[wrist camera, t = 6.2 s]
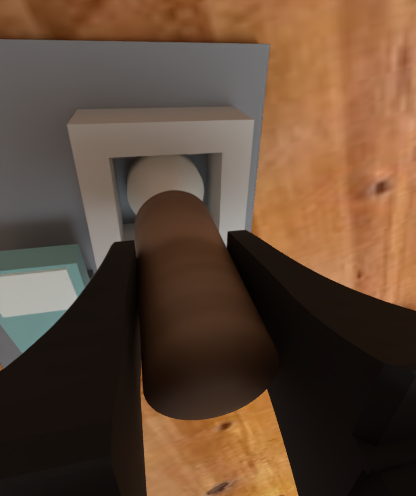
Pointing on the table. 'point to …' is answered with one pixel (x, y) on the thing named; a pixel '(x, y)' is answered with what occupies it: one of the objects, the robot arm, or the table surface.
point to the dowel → (195, 315)
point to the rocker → (38, 289)
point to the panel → (120, 136)
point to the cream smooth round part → (161, 178)
